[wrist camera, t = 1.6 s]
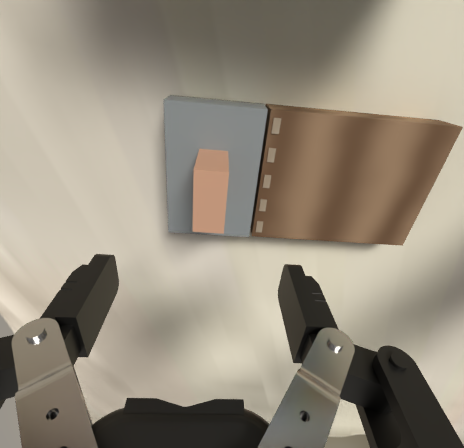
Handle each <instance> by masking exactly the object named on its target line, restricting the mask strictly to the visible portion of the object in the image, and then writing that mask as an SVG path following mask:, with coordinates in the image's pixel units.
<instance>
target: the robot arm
mask: <svg viewBox="0 0 464 448" xmlns="http://www.w3.org/2000/svg"><path fill="white" fill-rule="evenodd" d="M118 286H119V279H118V272H117V266H116V260H115V256H114V255H104V254H96V255H94V257H93V258H92V260H91V261H90V263H89V265H81V266H80V267H79V268H77V269H76V270H74V271H73V272H72V273H71V275H70V276H69V277H68V279H67V280H66V283H64V285H63V286H62V287H61V290H59V292H58V293H57V295H56V296H55V297H54V299H53V300H52V302H51V303H50V305H49V306H48V307H47V309H46V310H45V312H44V313H43V315H42V316H41V317H40V319H36V320H33V321H31V322H29V323H27V324H25V325H24V326H22V327H21V328H20V329H19V330H18V331H17V332H16V333H15V335H12V336H7V337H2V338H0V408H1V407H2V405H3V403H4V401H5V400H6V399H7V398H11V397H14V396H15V402H16V409H17V416H18V424H19V431H20V438H21V445H22V448H324V447H325V444H326V441H327V438H328V435H329V432H330V429H331V426H332V423H333V421H334V418H335V415H336V412H337V409H338V406H339V403H340V399H343V400H346V401H348V402H351V403H354V404H356V407H357V410H358V413H359V416H360V419H361V422H362V425H363V428H364V431H365V434H366V436H367V440H368V442H369V445H370V448H464V446H463V444H462V442H461V440H460V439H459V437H458V435H457V433H456V432H455V430H454V428H453V427H452V425H451V423H450V421H449V420H448V418H447V416H446V415H445V413H444V411H443V409H442V408H441V406H440V404H439V402H438V401H437V399H436V397H435V396H434V394H433V392H432V390H431V389H430V387H429V385H428V383H427V382H426V380H425V378H424V377H423V375H422V373H421V371H420V370H419V368H418V366H417V365H416V363H415V361H414V360H413V359H412V358H411V357H410V356H409V355H408V354H407V353H405V352H404V351H402V350H400V349H398V348H396V347H393V346H383V347H381V348H380V349H379V350H378V352H375V351H372V350H368V349H365V348H362V347H359V346H357V345H355V344H353V342H352V341H351V339H350V338H349V337H348V336H347V335H346V334H345V333H344V332H342V331H340V330H339V329H338V327H337V325H336V323H335V320H334V318H333V316H332V313H331V311H330V309H329V306H328V304H327V302H326V300H325V297H324V295H323V293H322V290H321V288H320V286H319V284H318V283H317V282H316V281H315V280H314V279H313V278H312V276H305V274H304V271H303V269H302V266H301V265H288V264H285V265H284V268H283V271H282V276H281V280H280V284H279V288H278V300H279V304H280V308H281V313H282V317H283V321H284V325H285V330H286V334H287V338H288V342H289V346H290V351H291V355H292V359H293V363H302V366H301V368H300V369H299V370H298V371H297V373H296V375H295V377H294V379H293V380H292V382H291V384H290V386H289V388H288V390H287V392H286V394H285V396H284V398H283V400H282V402H281V404H280V405H279V407H278V409H277V411H276V413H275V415H274V417H273V419H272V421H271V423H270V424H269V423H268V422H267V421H265V420H264V419H263V418H262V417H260V416H259V415H257V414H255V413H253V412H251V411H249V410H246V409H244V401H243V400H239V399H214V400H211V401H207V402H203V403H200V404H196V405H193V406H189V407H182V406H179V405H176V404H173V403H169V402H166V401H163V400H160V399H157V398H127V400H126V404H125V407H124V408H122V409H119V410H116V411H114V412H112V413H110V414H108V415H106V416H104V417H103V418H101V419H100V420H98V421H97V422H96V423H94V424H93V423H92V420H91V417H90V414H89V411H88V409H87V406H86V403H85V399H84V396H83V393H82V390H81V387H80V384H79V381H78V378H77V375H76V372H75V369H74V364H75V362H76V360H77V358H78V357H88V356H89V354H90V352H91V349H92V347H93V345H94V343H95V341H96V338H97V336H98V334H99V332H100V329H101V327H102V325H103V323H104V320H105V318H106V316H107V314H108V312H109V309H110V307H111V305H112V303H113V300H114V298H115V296H116V294H117V291H118Z"/></svg>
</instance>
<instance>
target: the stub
mask: <svg viewBox="0 0 464 448" xmlns="http://www.w3.org/2000/svg"><path fill="white" fill-rule="evenodd" d="M267 111H268V109H267V108H266V107H265V106H264V104H258V103H248V102H237V101H227V100H216V99H205V98H195V97H184V96H174V95H170V96H168V97H167V98H165V99H164V124H165V151H166V177H167V204H168V230H169V232H173V233H190V234H206V235H223V236H239V237H249V234H250V227H251V220H252V214H253V207H254V200H255V193H256V186H257V180H258V173H259V166H260V159H261V152H262V145H263V139H264V132H265V125H266V118H267Z"/></svg>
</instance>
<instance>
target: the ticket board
mask: <svg viewBox="0 0 464 448" xmlns="http://www.w3.org/2000/svg"><path fill="white" fill-rule="evenodd" d="M266 108H267V109H268V111H267V118H266V125H265V132H264V139H263V145H262V152H261V159H260V166H259V173H258V180H257V186H256V193H255V200H254V207H253V214H252V220H251V227H250V228H251V234H252V236H257V237H273V238H290V239H306V240H322V241H339V242H355V243H372V244H388V245H403V243H404V241H405V240H406V238H407V236H408V234H409V232H410V230H411V228H412V226H413V224H414V222H415V220H416V218H417V216H418V214H419V212H420V210H421V208H422V206H423V204H424V202H425V200H426V198H427V196H428V194H429V192H430V190H431V188H432V187H433V185H434V183H435V181H436V179H437V177H438V175H439V173H440V171H441V169H442V167H443V165H444V163H445V161H446V159H447V157H448V155H449V153H450V151H451V149H452V147H453V145H454V143H455V141H456V139H457V137H458V135H459V134H460V132H461V130H462V128H463V127H461V126H457V125H453V124H450V123H446V122H443V121H439V120H431V119H420V118H410V117H399V116H389V115H378V114H367V113H357V112H346V111H336V110H325V109H315V108H304V107H293V106H283V105H272V104H266Z"/></svg>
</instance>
